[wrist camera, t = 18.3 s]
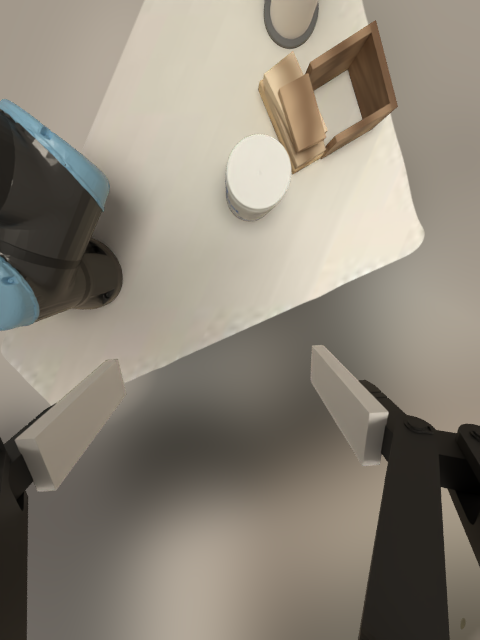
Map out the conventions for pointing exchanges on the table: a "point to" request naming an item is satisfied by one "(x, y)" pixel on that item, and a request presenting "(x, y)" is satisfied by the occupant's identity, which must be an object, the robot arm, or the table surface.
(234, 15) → the table surface
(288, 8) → the cylindrical container
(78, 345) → the table surface
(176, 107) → the table surface
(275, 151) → the supplement tub
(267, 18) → the rubber mat
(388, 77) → the offcut rack
